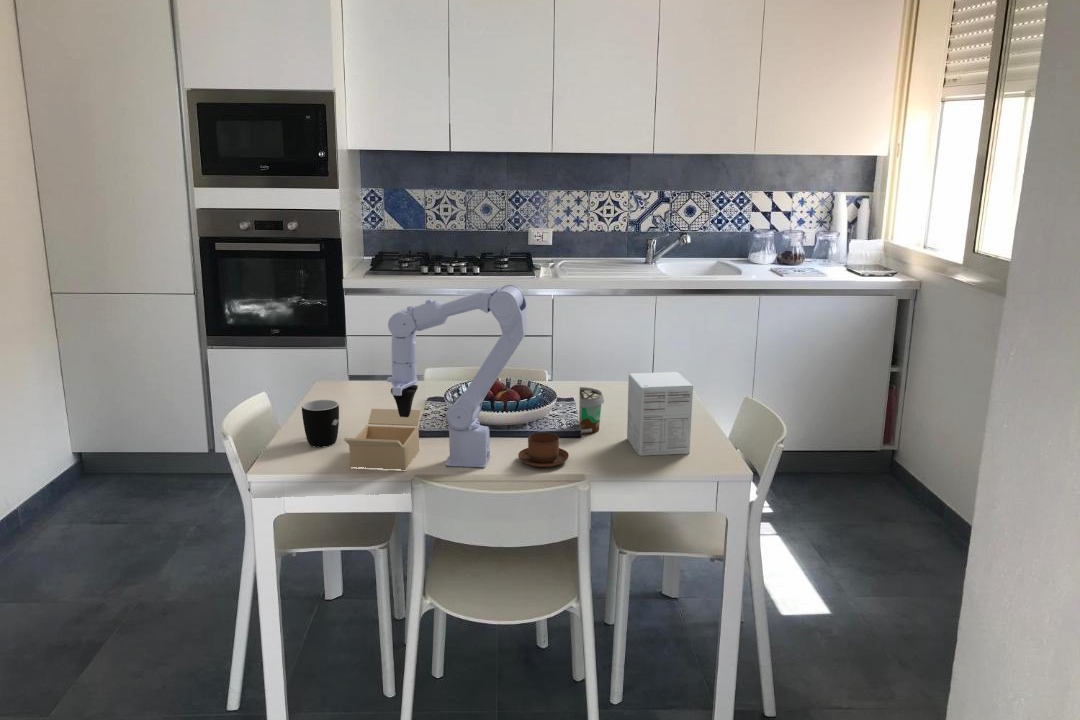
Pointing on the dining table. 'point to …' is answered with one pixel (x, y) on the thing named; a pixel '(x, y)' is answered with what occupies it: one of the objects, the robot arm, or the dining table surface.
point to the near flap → (373, 442)
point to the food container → (590, 410)
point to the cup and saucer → (543, 451)
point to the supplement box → (659, 413)
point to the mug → (321, 422)
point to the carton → (386, 448)
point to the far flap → (393, 417)
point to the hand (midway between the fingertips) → (404, 416)
